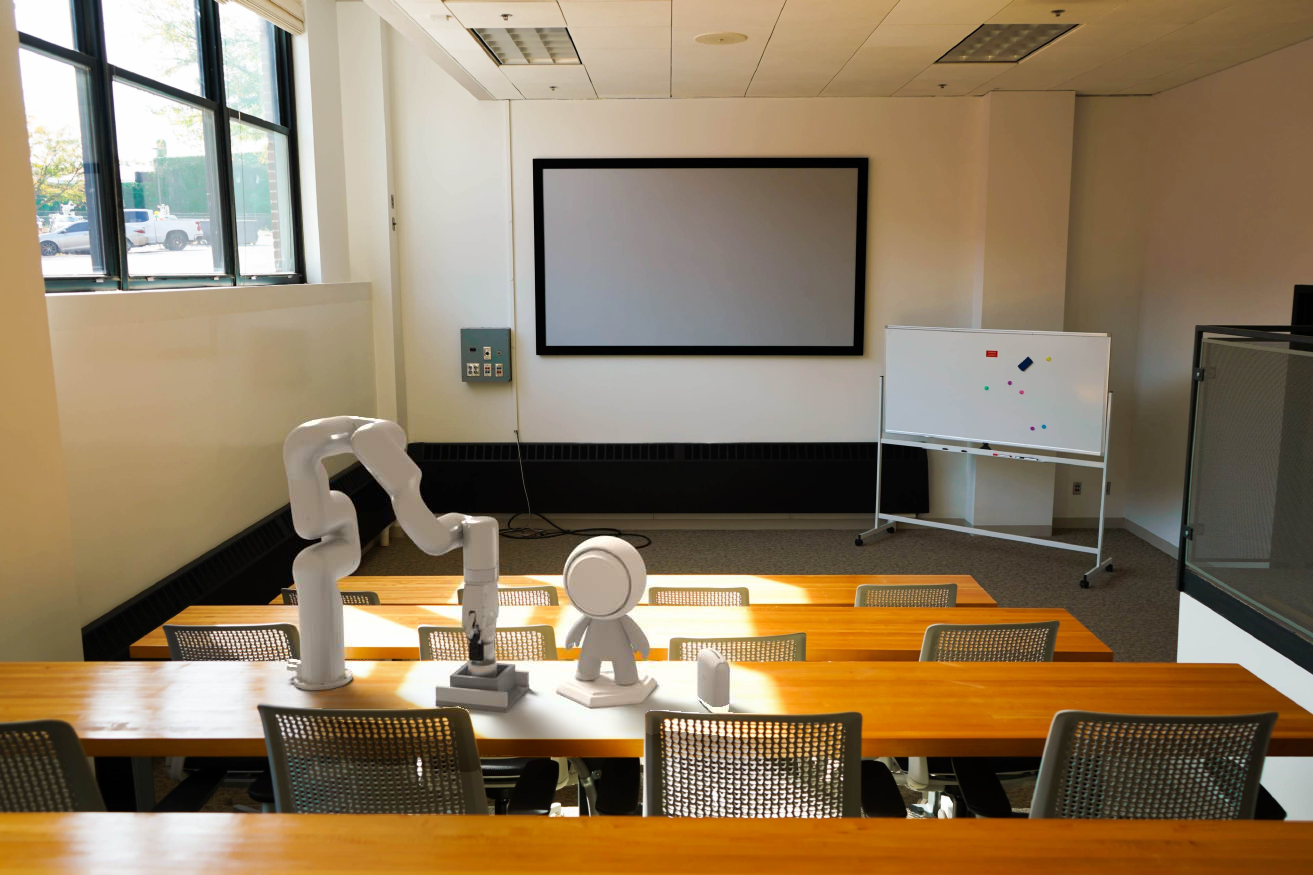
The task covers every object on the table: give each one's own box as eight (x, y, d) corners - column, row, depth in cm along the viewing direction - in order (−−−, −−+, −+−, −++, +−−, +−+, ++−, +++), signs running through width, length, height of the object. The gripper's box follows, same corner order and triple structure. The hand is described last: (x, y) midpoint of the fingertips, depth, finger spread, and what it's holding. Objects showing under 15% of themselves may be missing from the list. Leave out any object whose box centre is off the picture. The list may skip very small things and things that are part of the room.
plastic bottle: (501, 678, 215) (500, 590, 213) (493, 689, 208) (492, 599, 206) (472, 677, 216) (471, 589, 213) (463, 688, 209) (462, 597, 207)
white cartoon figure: (545, 702, 209) (544, 543, 205) (583, 666, 231) (583, 522, 227) (633, 713, 204) (634, 550, 200) (664, 675, 226) (665, 528, 221)
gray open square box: (435, 705, 207) (435, 678, 207) (462, 681, 221) (462, 656, 220) (505, 712, 204) (505, 684, 203) (529, 688, 217) (529, 662, 217)
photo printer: (694, 699, 212) (695, 644, 210) (712, 696, 213) (713, 642, 212) (713, 717, 202) (714, 659, 201) (732, 714, 204) (732, 657, 202)
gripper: (481, 563, 218) (482, 641, 220) (448, 583, 202) (449, 667, 204) (512, 565, 217) (513, 644, 219) (481, 585, 200) (482, 670, 202)
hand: (482, 654), depth 211 cm, fingers closed on plastic bottle, 5 cm apart
